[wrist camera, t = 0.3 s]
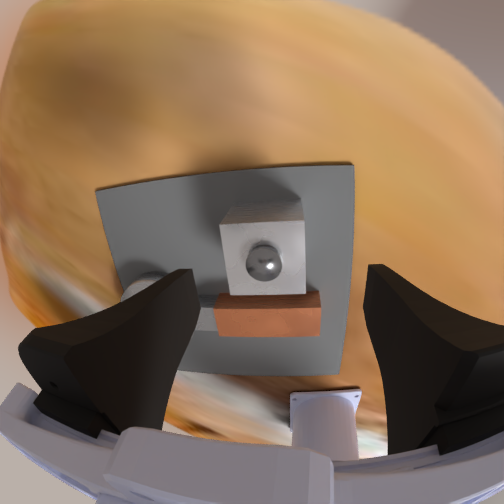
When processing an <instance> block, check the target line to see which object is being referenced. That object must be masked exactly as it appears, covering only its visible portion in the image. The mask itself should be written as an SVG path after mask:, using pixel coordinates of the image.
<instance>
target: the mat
mask: <svg viewBox="0 0 504 504" xmlns="http://www.w3.org/2000/svg"><path fill="white" fill-rule="evenodd" d="M95 193H96V198H97V202H98V206H99V211H100V215H101V219H102V222H103V226H104V230H105V234H106V237H107V241H108V244H109V248H110V251H111V254H112V257H113V261H114V264H115V267H116V270H117V273H118V276H119V279H120V282H121V285H122V288H123V291H124V292H125V290H126V289H127V288H128V287H129V286H130V284H131V283H132V282H133V281H134V280H135V279H136V278H137V277H138V276H139V275H141V274H143V273H146V272H152V271H156V272H163V273H167V274H169V273H171V272H173V271H175V270H177V269H192V270H193V275H194V279H195V284H196V289H197V293H198V295H219V293H230V290H229V284H228V277H227V271H226V265H225V259H224V253H223V246H222V240H221V233H220V226H219V224H220V223H221V221H222V220H223V218H224V217H225V215H226V214H227V213H228V211H229V210H230V208H231V207H232V205H233V204H234V202H248V201H264V200H283V199H301V200H302V207H303V214H304V222H305V259H306V291H319V294H320V301H321V324H320V336H307V337H227V336H219V333H218V331H202V330H195V332H194V334H193V336H192V338H191V340H190V342H189V344H188V346H187V349H186V351H185V353H184V355H183V358H182V360H181V362H180V364H179V367H178V369H177V370H181V371H191V372H201V373H213V374H227V375H248V376H315V375H335V374H339V371H340V365H341V358H342V352H343V345H344V338H345V331H346V323H347V314H348V305H349V296H350V285H351V272H352V258H353V239H354V203H355V179H354V165H314V166H290V167H273V168H258V169H246V170H234V171H224V172H215V173H206V174H197V175H189V176H182V177H174V178H167V179H161V180H154V181H148V182H142V183H136V184H130V185H125V186H119V187H114V188H109V189H104V190H99V191H96V192H95Z"/></svg>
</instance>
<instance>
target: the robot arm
mask: <svg viewBox="0 0 504 504" xmlns="http://www.w3.org/2000/svg"><path fill="white" fill-rule="evenodd" d="M363 309H364V315H365V320H366V326H367V329H368V332H369V335H370V339H371V342H372V345H373V348H374V351H375V354H376V358H377V361H378V364H379V368H380V372H381V376H382V381H383V388H384V395H385V404H386V414H387V431H388V455H387V456H381V457H374V458H367V459H360V460H359V452H358V440H357V430H356V421H355V413H356V410H357V407H358V403H359V400H360V397H361V394H362V391H361V389H351V390H337V391H319V392H293V393H291V394H290V432H292V446H284V445H268V444H250V443H238V442H228V441H219V440H212V439H205V438H198V437H192V436H186V435H181V434H176V433H171V432H166V431H162V426H163V421H164V416H165V411H166V407H167V403H168V399H169V395H170V391H171V388H172V384H173V381H174V377H175V374H176V372H177V369H178V367H179V364H180V362H181V360H182V358H183V355H184V353H185V351H186V349H187V346H188V344H189V342H190V340H191V337H192V335H193V333H194V330H195V328H196V325H197V321H198V318H199V314H200V310H201V306H200V302H199V298H198V293H197V289H196V284H195V279H194V275H193V270H192V269H177V270H175V271H173V272H171V273H169V274H168V275H166V276H164V277H163V278H161V279H159V280H158V281H156V282H155V283H153V284H151V285H150V286H148V287H147V288H145V289H143V290H142V291H140V292H138V293H136V294H135V295H133V296H131V297H129V298H128V299H126V300H124V301H122V302H120V303H118V304H116V305H114V306H112V307H110V308H107V309H105V310H103V311H100V312H97V313H95V314H92V315H89V316H87V317H84V318H81V319H77V320H74V321H70V322H66V323H62V324H58V325H52V326H47V327H41V328H35V329H34V330H32V331H31V332H30V333H29V334H28V335H27V337H26V338H25V339H24V340H23V341H22V342H21V343H20V344H19V347H18V351H19V355H20V358H21V360H22V362H23V363H24V365H25V367H26V368H27V370H28V371H29V373H30V374H31V376H32V377H33V378H34V380H35V381H36V382H37V384H38V385H39V386H40V388H41V389H42V391H41V392H40V394H39V395H38V394H37V393H36V392H35V391H33V390H32V389H30V388H28V387H26V386H24V385H23V384H21V383H17V384H16V385H15V386H14V388H13V389H12V390H11V392H10V393H9V395H8V396H7V397H6V399H5V400H4V402H3V403H2V404H1V406H0V434H1V435H2V436H3V437H4V438H5V439H6V440H8V441H9V442H10V443H11V444H12V445H13V446H14V447H15V448H17V449H18V450H19V451H20V452H21V453H22V454H24V455H25V456H26V457H27V458H28V459H30V460H31V461H33V462H34V463H35V464H37V465H38V466H40V467H41V468H43V469H44V470H46V471H47V472H48V473H50V474H52V475H53V476H55V477H56V478H58V479H59V480H61V481H63V482H65V483H66V484H68V485H69V486H71V487H73V488H74V489H76V490H78V491H80V492H81V493H83V494H85V495H87V496H89V497H91V498H93V499H95V500H97V501H96V504H477V503H479V502H481V501H483V500H485V499H487V498H489V497H491V496H492V495H494V494H496V493H498V492H500V491H501V490H503V489H504V326H503V325H498V324H495V323H491V322H488V321H484V320H481V319H478V318H476V317H473V316H470V315H468V314H465V313H463V312H460V311H458V310H456V309H454V308H452V307H450V306H448V305H446V304H444V303H442V302H440V301H438V300H436V299H435V298H433V297H431V296H430V295H428V294H427V293H425V292H423V291H422V290H420V289H419V288H417V287H416V286H414V285H413V284H411V283H410V282H409V281H407V280H406V279H404V278H403V277H401V276H400V275H399V274H397V273H396V272H394V271H393V270H391V269H390V268H388V267H387V266H385V265H383V264H370V265H368V272H367V281H366V289H365V296H364V303H363Z"/></svg>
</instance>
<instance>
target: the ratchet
mask: <svg viewBox="0 0 504 504" xmlns="http://www.w3.org/2000/svg"><path fill="white" fill-rule="evenodd" d="M166 275H168V274H167V273H163V272H156V271H152V272H146V273H143V274H141V275H139V276H138V277H137V278H136V279H135V280H134V281H133V282H132V283H131V284H130V286H129V287H128V288H127V289H126V290H125V292H124V293H123V295H122V297H121V302H122V301H124V300H126V299H128V298H129V297H131V296H133V295H135V294H136V293H138V292H140V291H142V290H143V289H145V288H147V287H148V286H150V285H151V284H153V283H155V282H156V281H158V280H159V279H161V278H163V277H164V276H166ZM198 298H199V302H200V306H201V310H200V314H199V318H198V321H197V325H196V328H195V330H202V331H218V333H219V336H227V337H307V336H320V324H321V301H320V294H319V291H306V294H281V295H230V293H219V295H198ZM195 330H194V332H195ZM193 334H194V333H193ZM192 336H193V335H192ZM191 338H192V337H191Z"/></svg>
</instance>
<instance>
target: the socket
mask: <svg viewBox="0 0 504 504" xmlns="http://www.w3.org/2000/svg"><path fill="white" fill-rule="evenodd" d="M219 226H220V233H221V240H222V246H223V253H224V259H225V265H226V271H227V277H228V284H229V290H230V295H281V294H306V259H305V222H304V214H303V207H302V200H301V199H283V200H264V201H248V202H234V204H233V205H232V207H231V208H230V210H229V211H228V213H227V214H226V215H225V217H224V218H223V220H222V221H221V223H220V224H219Z"/></svg>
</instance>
